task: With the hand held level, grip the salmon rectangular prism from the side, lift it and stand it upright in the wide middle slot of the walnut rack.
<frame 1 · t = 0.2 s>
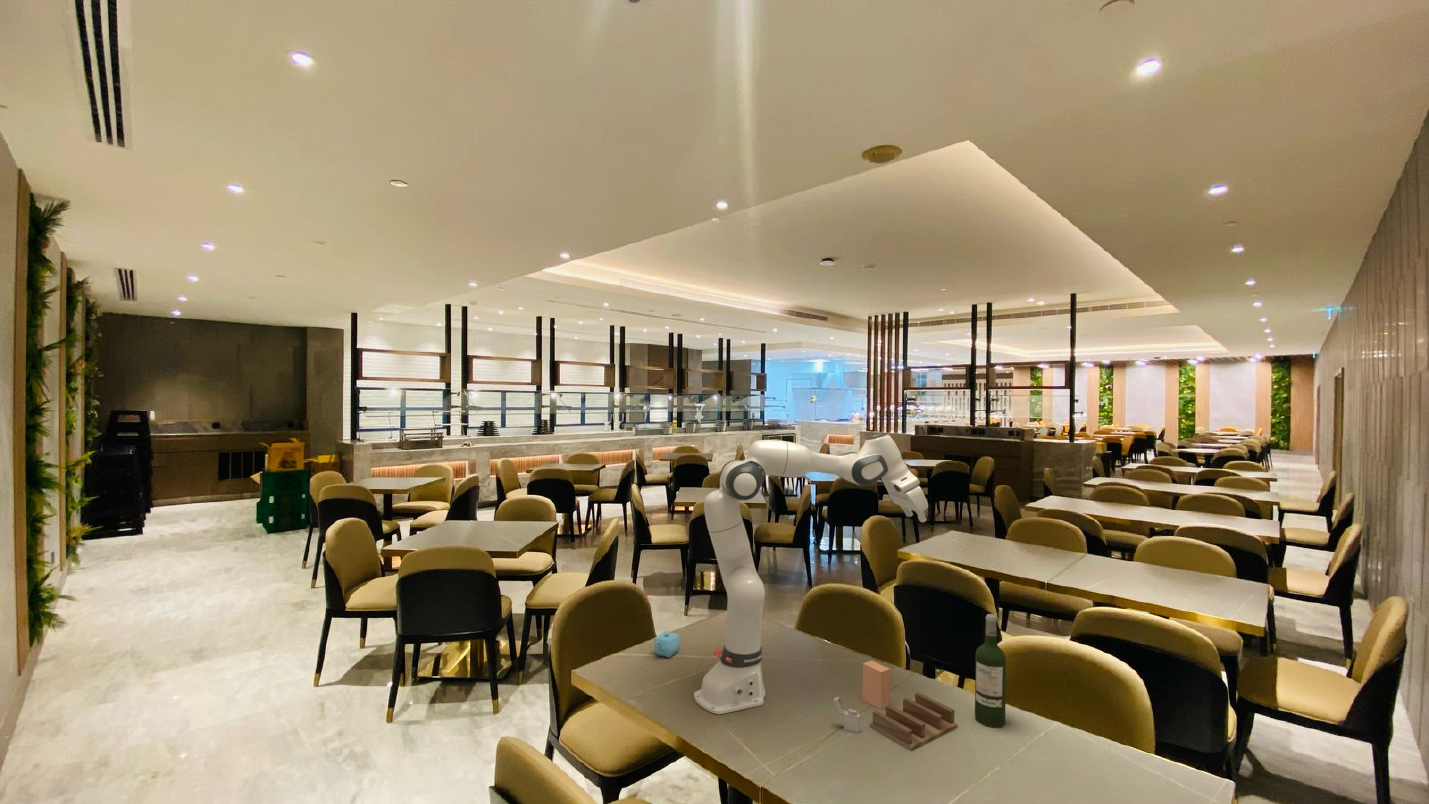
hand: (916, 518, 194), 53 cm above the table, tool tilted 25°, fingers open, 8 cm apart
rack: (913, 726, 170), on the table
light blue toy brick: (665, 655, 216), on the table
wine bottle: (989, 721, 173), on the table
lighter: (846, 728, 169), on the table
salmon rectangular prism: (876, 702, 183), on the table
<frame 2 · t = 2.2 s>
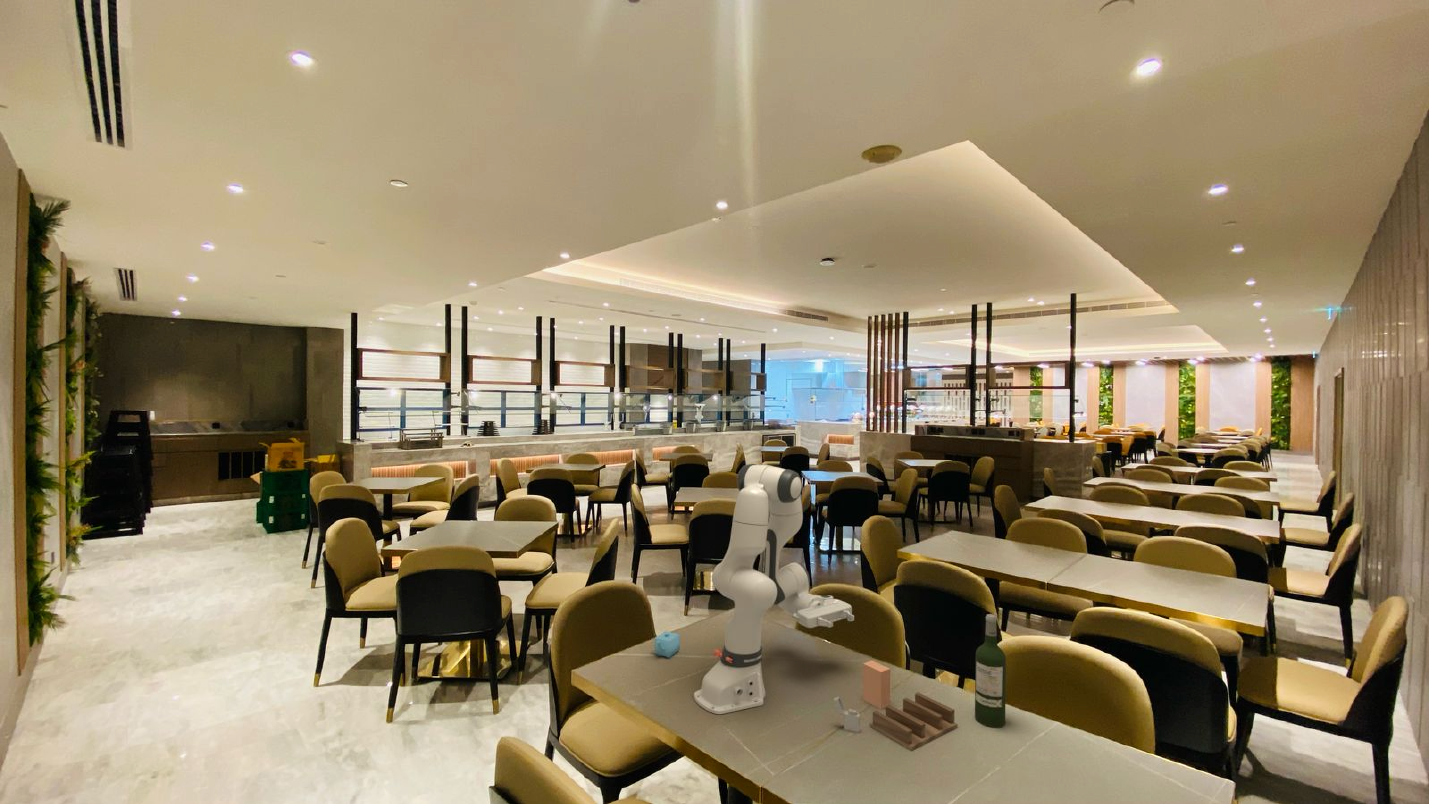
hand: (842, 621, 195), 20 cm above the table, tool horizontal, fingers open, 8 cm apart
nothing on the table moved.
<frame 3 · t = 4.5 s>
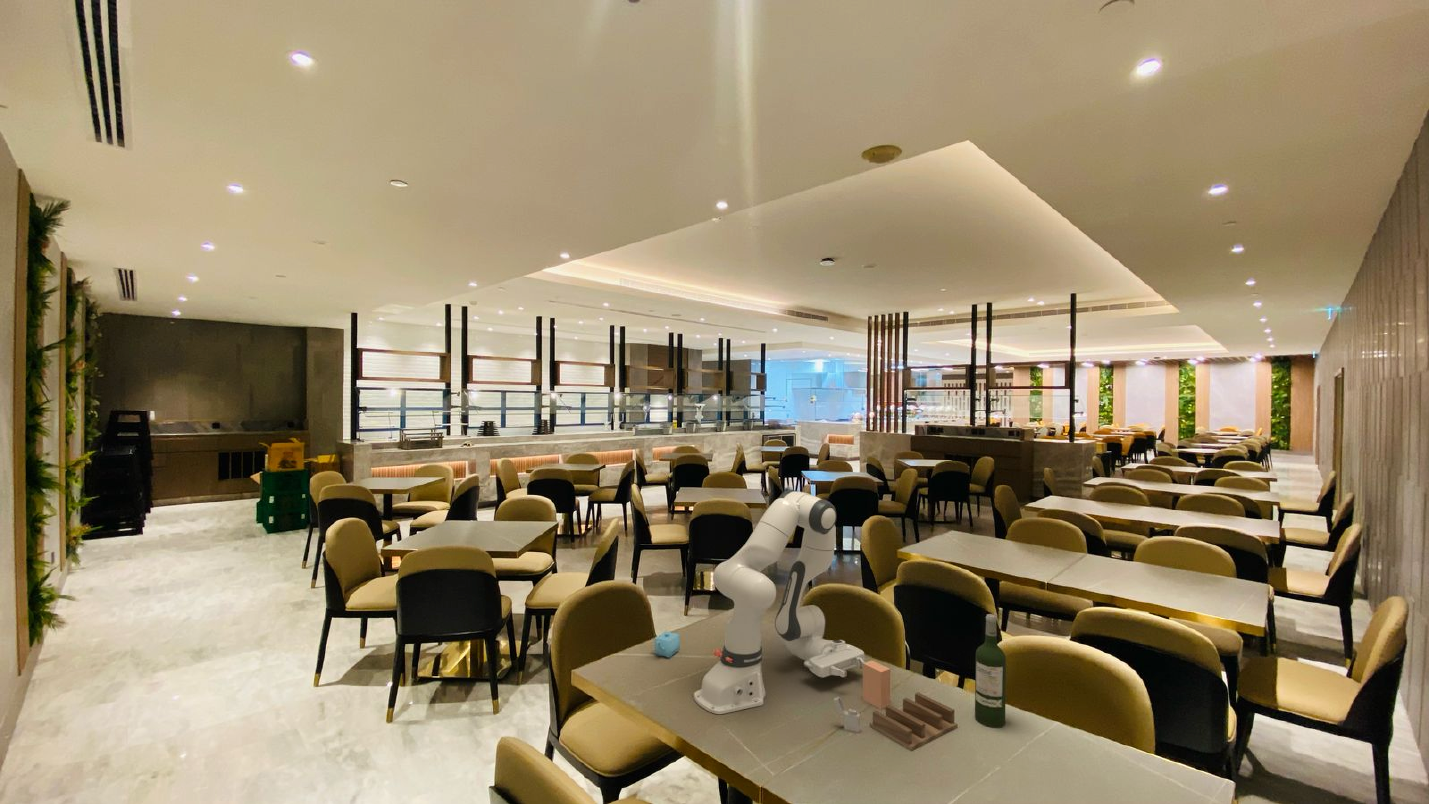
hand: (855, 670, 190), 6 cm above the table, tool horizontal, fingers open, 8 cm apart
nothing on the table moved.
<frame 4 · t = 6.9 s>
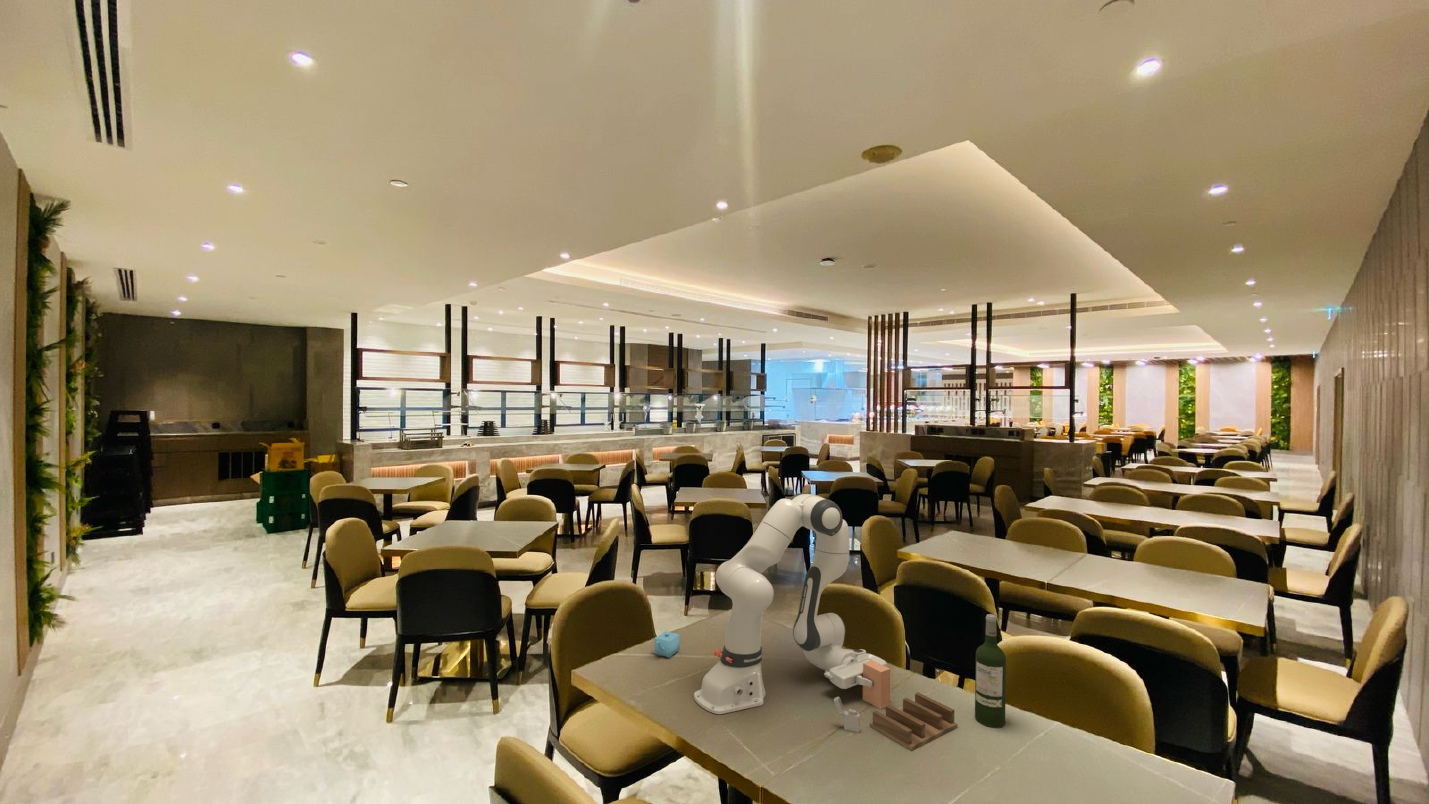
hand: (878, 681, 182), 7 cm above the table, tool horizontal, fingers closed on salmon rectangular prism, 4 cm apart
salmon rectangular prism: (876, 702, 183), on the table, touching gripper
everything else where it was.
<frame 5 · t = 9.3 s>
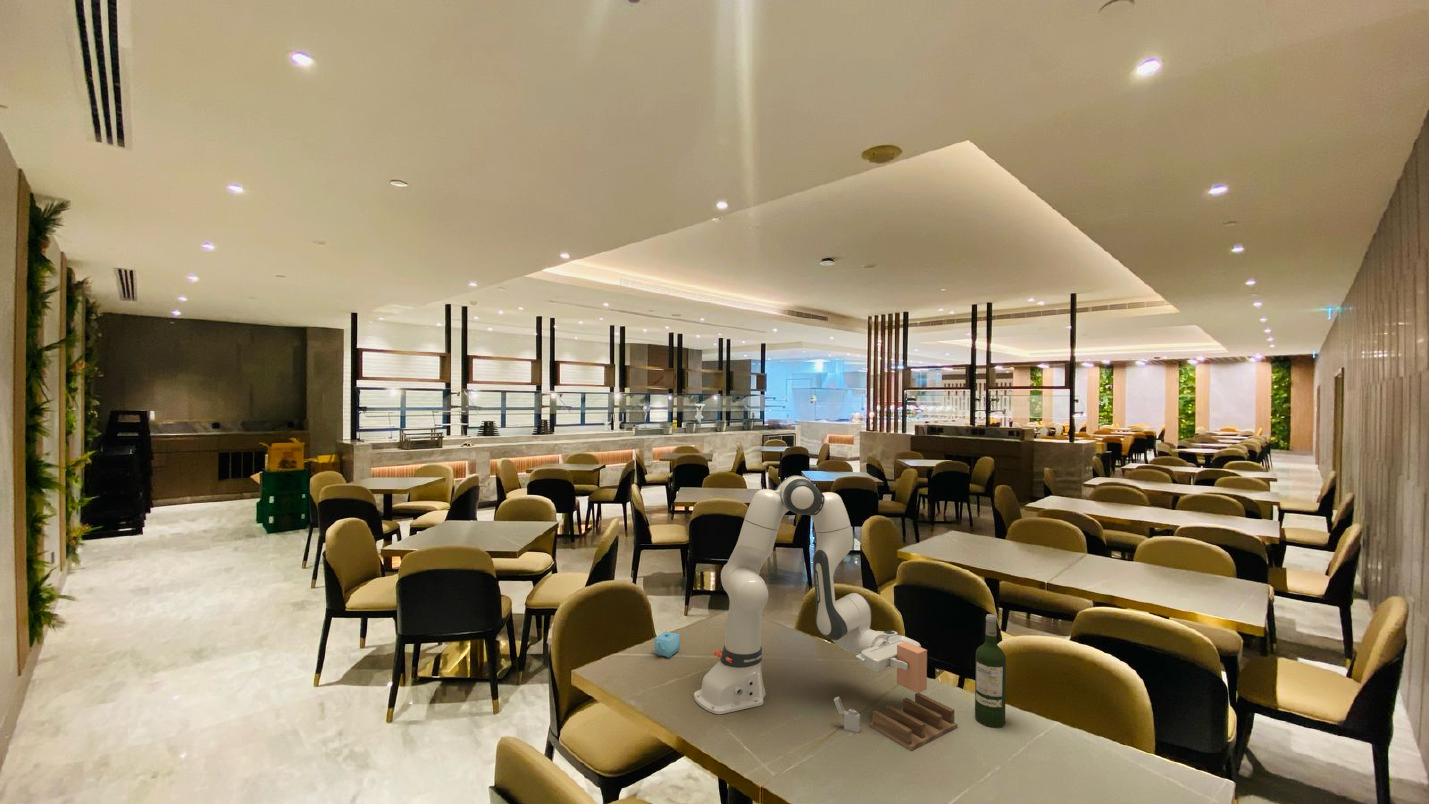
hand: (914, 664, 170), 17 cm above the table, tool horizontal, fingers closed on salmon rectangular prism, 4 cm apart
salmon rectangular prism: (911, 686, 171), point 11 cm above the table, touching gripper
everything else where it was.
when the fingers open (9 cm above the table, at t = 11.7 s): salmon rectangular prism drops 1 cm, resting on rack.
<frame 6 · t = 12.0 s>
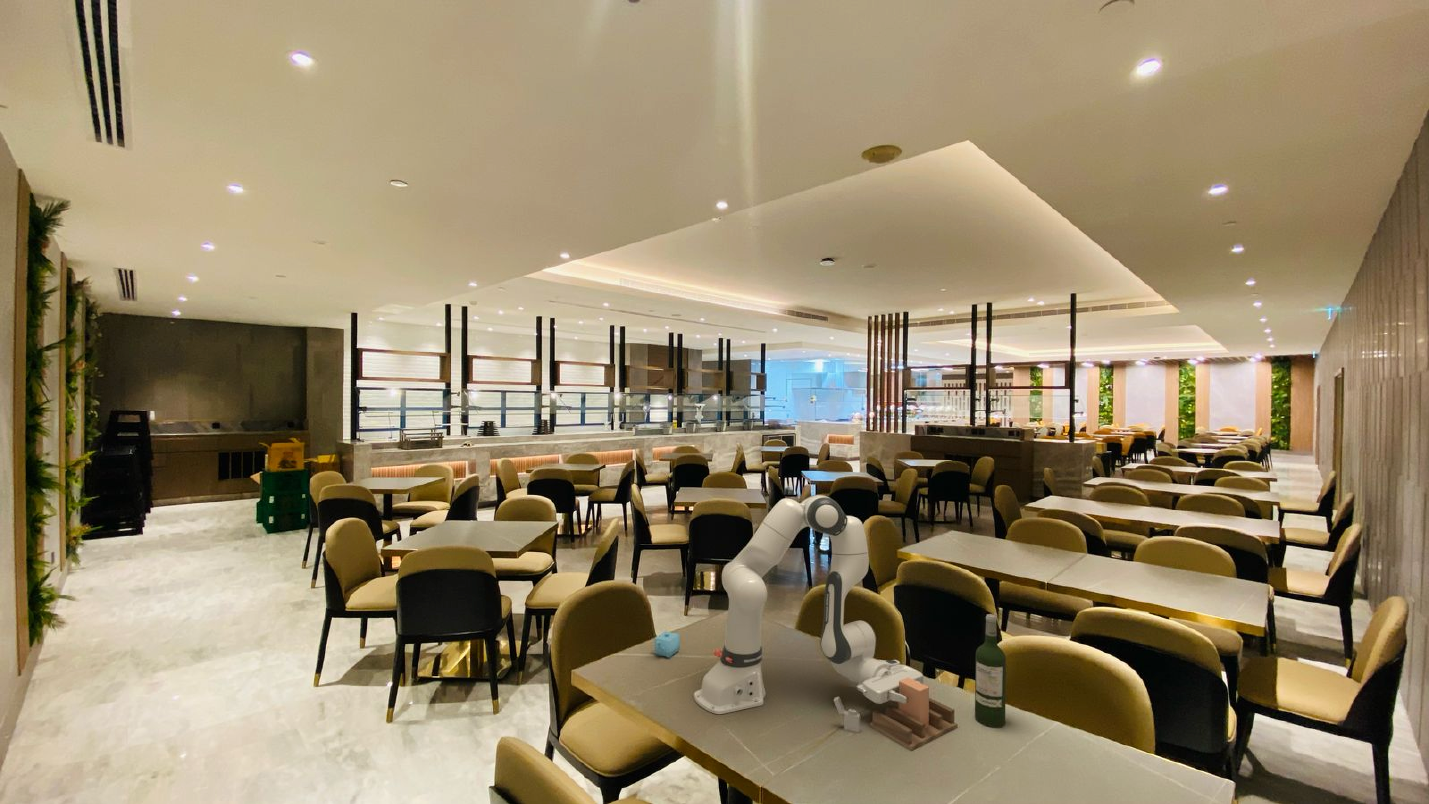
hand: (916, 696, 169), 9 cm above the table, tool horizontal, fingers open, 7 cm apart
salmon rectangular prism: (913, 723, 170), point 1 cm above the table, touching rack
everything else where it was.
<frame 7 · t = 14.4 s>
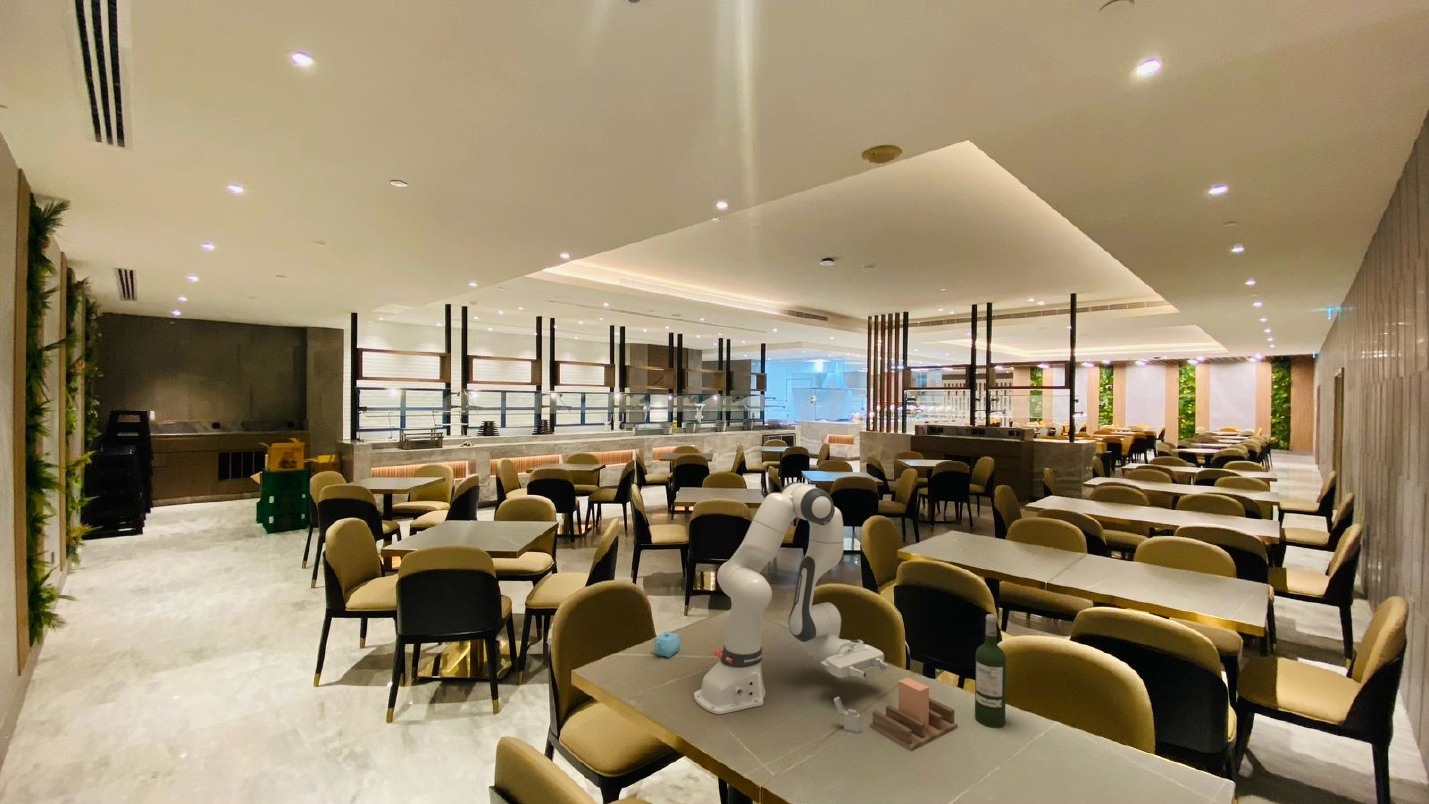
hand: (875, 671, 180), 11 cm above the table, tool horizontal, fingers open, 8 cm apart
nothing on the table moved.
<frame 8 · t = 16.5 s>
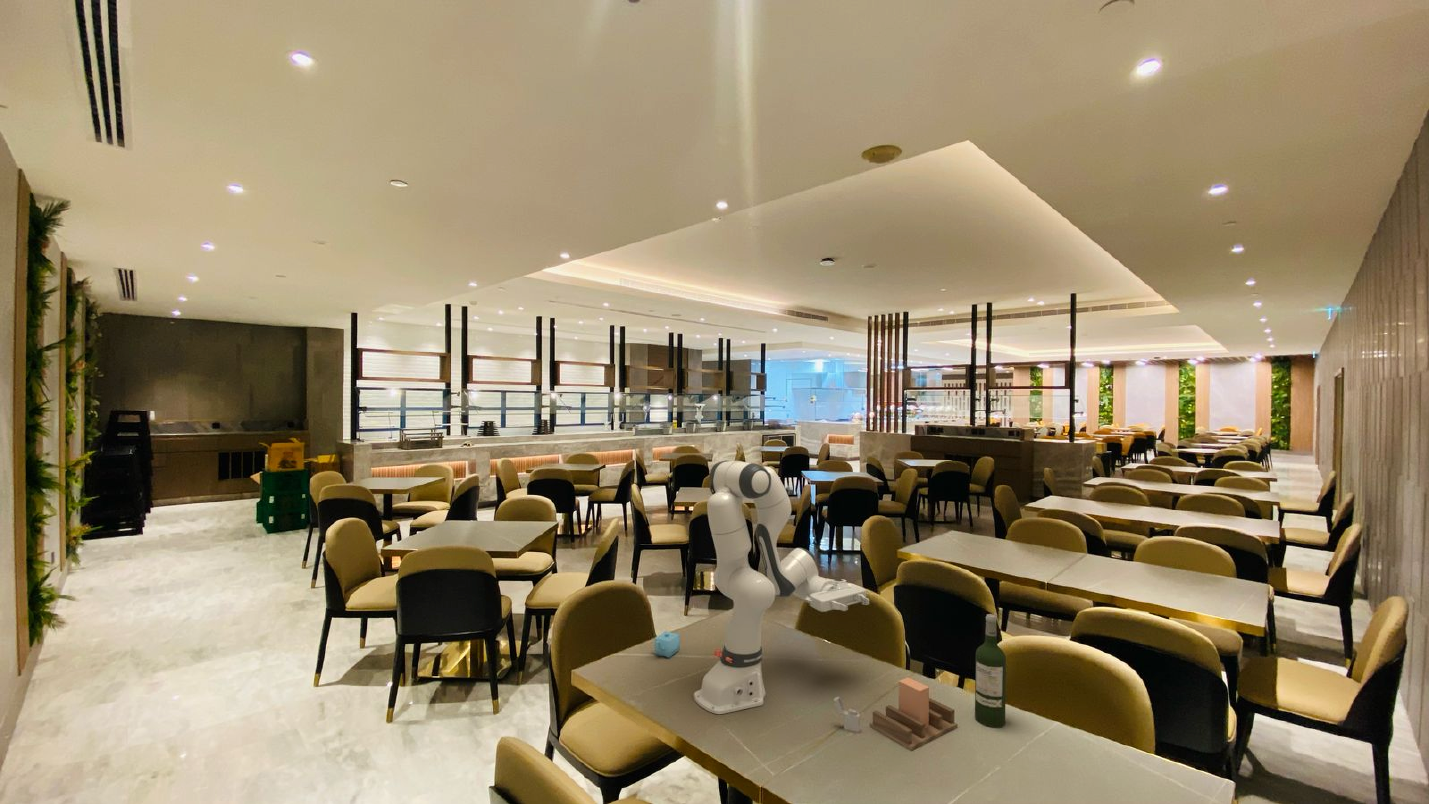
hand: (857, 605, 187), 28 cm above the table, tool horizontal, fingers open, 8 cm apart
nothing on the table moved.
at the end: salmon rectangular prism inside the target area on the rack (0.1 cm from its centre), point 1.0 cm above the rack's base; salmon rectangular prism tilted 0°; the gripper is holding nothing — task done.
